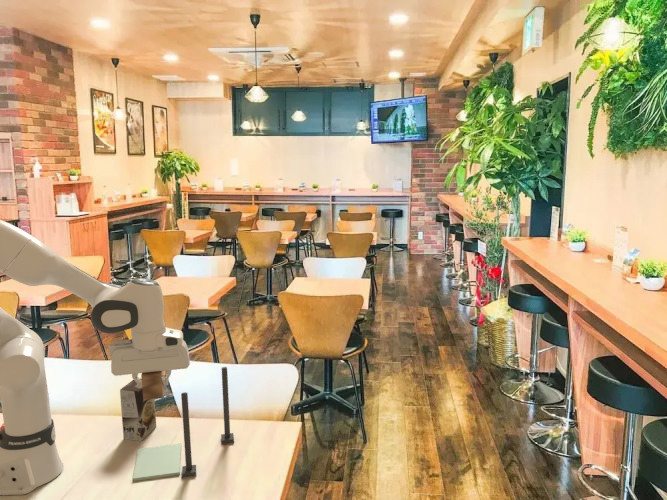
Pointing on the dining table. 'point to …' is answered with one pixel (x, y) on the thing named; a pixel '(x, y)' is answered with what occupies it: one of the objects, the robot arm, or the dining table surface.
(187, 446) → the front cord post
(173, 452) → the board
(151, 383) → the walnut block
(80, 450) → the dining table surface
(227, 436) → the post
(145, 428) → the coffee box
